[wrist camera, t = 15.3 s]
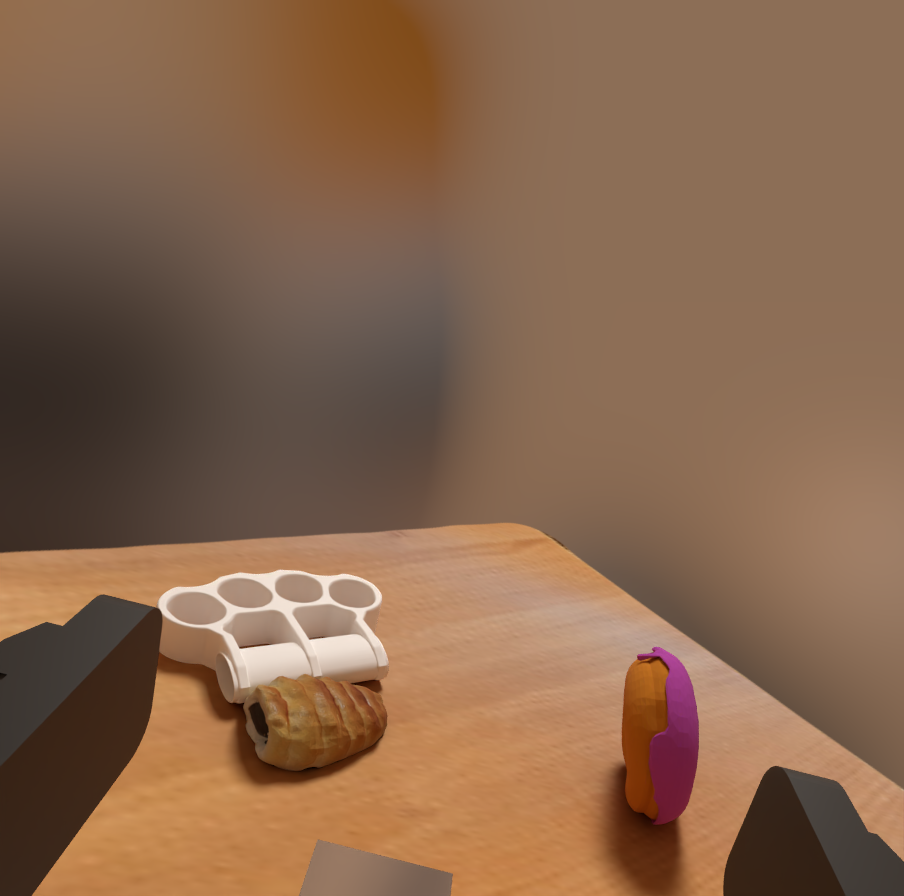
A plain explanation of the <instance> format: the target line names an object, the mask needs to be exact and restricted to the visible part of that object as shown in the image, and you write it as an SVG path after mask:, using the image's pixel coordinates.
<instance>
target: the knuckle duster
mask: <svg viewBox="0 0 904 896" xmlns="http://www.w3.org/2000/svg"><path fill="white" fill-rule="evenodd" d="M381 603H382V596H381V593H380V591H379V590H378V589H377V588H376V587H375V586H374V585H373V584H372V583H370V582H368V581H366V580H364V579H362V578H359V577H356V576H353V575H348V574H341V575H335V576H320V575H313V574H309V573H305V572H303V571H290V570H277V571H275V572H271V573H266V574H246V573H236V574H232V575H227V576H223V577H219V578H218V579H217V580H215V581H214V582H212V583H209V584H206V585H202V586H197V587H175V588H173V589H171V590H169V591H167V592H165V593H164V594H163V595H162V596H161V597H160V599H159V600H158V602H157V606H156V608H159V609H160V610H161V612H162V617H163V623H162V632H161V640H160V648H159V652H160V653H161V654H163V655H164V656H166V657H168V658H170V659H173V660H175V661H179V662H183V663H190V664H202V665H205V666H207V667H209V668H211V669H213V670H215V671H216V674H217V679H218V683H219V686H220V689H221V691H222V693H223V695H224V697H225V699H226V700H227V701H228V702H230V703H234V702H235V703H245V700H246V698H247V697H248V696H249V694H250V693H251V692H252V691H254V690H255V689H256V687H257V686H258V685H266V686H268V685H269V684H270V683H271V682H272V681H273V680H274V679H276V678H277V677H279V676H284V677H287V678H291V679H294V680H296V679H297V678H298V677H299V676H301V675H303V674H308V675H310V676H312V677H313V678H316V679H320V678H323V677H329V678H331V679H332V680H334V681H336V682H341V681H348V682H349V683H356V682H362V681H368V680H381V679H384V678H385V677H386V676H387V674H388V670H389V663H388V659H387V655H386V652H385V650H384V648H383V645H382V644H381V642H380V641H379V639H378V638H377V637H376V636H375V635H374V633H375V631H376V626H377V621H378V617H379V612H380V607H381ZM314 637H327V638H320V639H312V640H309V639H308V638H314ZM258 644H271V645H266V646H259V647H251V648H244V649H239V647H242V646H250V645H258Z"/></svg>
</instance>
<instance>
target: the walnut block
mask: <svg viewBox="0 0 904 896" xmlns="http://www.w3.org/2000/svg"><path fill="white" fill-rule="evenodd" d="M452 876H453V874H452V873H448V872H444V871H440V870H436V869H432V868H428V867H424V866H420V865H416V864H412V863H409V862H405V861H401V860H397V859H393V858H389V857H385V856H381V855H377V854H373V853H369V852H365V851H361V850H357V849H353V848H349V847H346V846H342V845H338V844H334V843H330V842H326V841H322V840H317V843H316V846H315V849H314V852H313V855H312V858H311V861H310V864H309V867H308V870H307V873H306V876H305V879H304V882H303V885H302V888H301V891H300V894H299V896H450V895H451V885H452Z"/></svg>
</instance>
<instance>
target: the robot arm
mask: <svg viewBox="0 0 904 896" xmlns="http://www.w3.org/2000/svg"><path fill="white" fill-rule="evenodd" d="M162 623H163V617H162V612H161V610H160V609H159V608H155V607H152V606H148V605H144V604H140V603H136V602H132V601H128V600H124V599H120V598H116V597H112V596H108V595H99V596H97V597H96V598H95V599H93V600H92V601H91V602H90V603H89V604H88V605H86V606H85V607H84V608H83V609H82V610H81V611H80V612H78V613H77V614H76V615H75V616H74V617H73V618H72V619H70V620H69V621H68V622H67V623H66V624H65V625H64V626H60V625H56V624H52V623H48V622H45V623H43V624H40V625H38V626H35V627H33V628H31V629H28V630H26V631H23V632H21V633H18V634H16V635H13V636H11V637H9V638H6V639H4V640H2V641H1V642H0V896H32V894H33V893H34V892H35V890H36V889H37V887H38V886H39V885H40V883H41V882H42V881H43V879H44V878H45V876H46V875H47V874H48V872H49V871H50V870H51V868H52V867H53V866H54V864H55V863H56V861H57V860H58V859H59V857H60V856H61V855H62V853H63V852H64V850H65V849H66V848H67V846H68V845H69V844H70V842H71V841H72V840H73V838H74V837H75V835H76V834H77V833H78V831H79V830H80V829H81V827H82V826H83V824H84V823H85V822H86V820H87V819H88V818H89V816H90V815H91V813H92V812H93V811H94V809H95V808H96V807H97V805H98V804H99V803H100V801H101V800H102V798H103V797H104V796H105V794H106V793H107V792H108V790H109V789H110V787H111V786H112V785H113V783H114V782H115V781H116V779H117V778H118V777H119V775H120V774H121V772H122V771H123V770H124V768H125V767H126V766H127V764H128V763H129V761H130V760H131V759H132V757H133V756H134V754H135V752H136V750H137V748H138V746H139V745H140V742H141V740H142V738H143V735H144V733H145V730H146V727H147V725H148V721H149V718H150V714H151V709H152V702H153V694H154V687H155V679H156V671H157V663H158V656H159V648H160V640H161V632H162ZM723 895H724V896H904V862H903V861H902V860H901V858H900V857H899V856H898V855H897V854H896V853H895V852H894V851H893V850H892V849H891V848H890V847H889V846H888V845H887V844H886V843H885V842H884V841H883V840H882V839H881V838H880V837H879V836H878V835H877V834H873V833H870V832H868V831H867V829H866V827H865V825H864V823H863V822H862V820H861V818H860V816H859V815H858V813H857V811H856V809H855V808H854V806H853V804H852V802H851V801H850V799H849V797H848V795H847V794H846V792H845V790H844V789H843V787H842V786H841V785H840V784H839V783H838V782H836V781H834V780H830V779H826V778H822V777H818V776H814V775H811V774H807V773H803V772H799V771H795V770H791V769H787V768H783V767H779V766H773V767H771V768H770V769H769V770H767V771H766V773H765V774H764V776H763V778H762V780H761V782H760V784H759V787H758V789H757V791H756V794H755V796H754V798H753V801H752V803H751V805H750V808H749V810H748V812H747V815H746V817H745V819H744V822H743V824H742V826H741V829H740V831H739V833H738V836H737V838H736V840H735V843H734V845H733V847H732V850H731V852H730V855H729V857H728V860H727V864H726V868H725V874H724V886H723Z"/></svg>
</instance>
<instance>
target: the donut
mask: <svg viewBox="0 0 904 896" xmlns="http://www.w3.org/2000/svg"><path fill="white" fill-rule="evenodd" d="M652 650H653V653H649V654H639V655H637V658H638V659H637V660H636V661H635V662H634V663H633V664H632V665H631V666H630V668H629V670H628V672H627V675H626V681H625V689H624V705H623V719H622V748H623V755H624V759H625V764H626V768H627V778H626V784H625V794H626V799H627V802H628V804H629V806H630V807H631V808H632V809H633V810H634V811H635V812H639V813H644V814H646V815H647V816H648V817H649V818H651V821H652V823H653V824H665V823H668V822H670V821H672V820H674V819H676V818H677V817H679V816H680V815H681V814H682V812H683V811H684V810H685V808H686V806H687V804H688V802H689V799H690V795H691V792H692V787H693V783H694V778H695V774H696V768H697V760H698V750H699V721H698V715H697V706H696V701H695V696H694V691H693V686H692V683H691V680H690V678H689V675H688V673H687V671H686V669H685V667H684V666H683V664H682V663H681V662H680V661H679V660H678V658H676V657H675V656H674V655H672V654H671V653H669V652H667V651H665V650H664V649H662V648H660V647H654V648H652Z"/></svg>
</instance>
